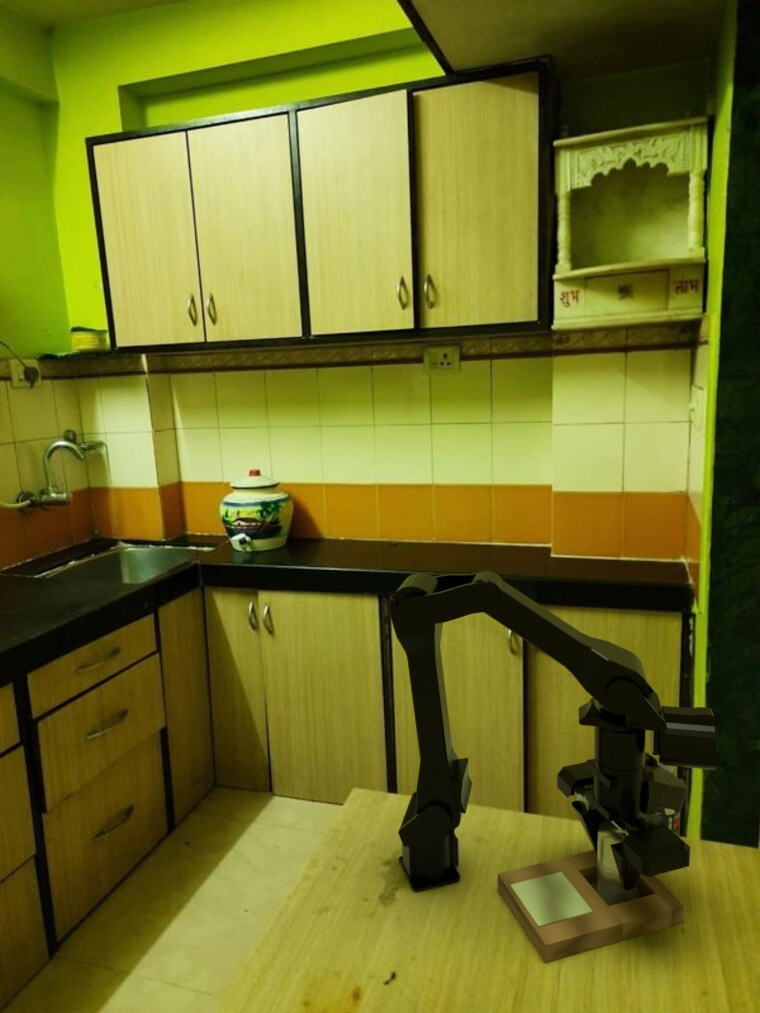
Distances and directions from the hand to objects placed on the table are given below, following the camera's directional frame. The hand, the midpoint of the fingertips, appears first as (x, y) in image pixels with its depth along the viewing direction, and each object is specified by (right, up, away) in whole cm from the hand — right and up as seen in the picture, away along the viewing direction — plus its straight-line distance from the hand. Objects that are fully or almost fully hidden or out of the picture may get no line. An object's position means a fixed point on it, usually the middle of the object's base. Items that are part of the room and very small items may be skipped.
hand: (616, 875), depth 86 cm
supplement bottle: (+9, -1, +10) cm, 13 cm away
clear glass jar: (0, -3, +1) cm, 3 cm away
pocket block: (-4, -3, -1) cm, 5 cm away
